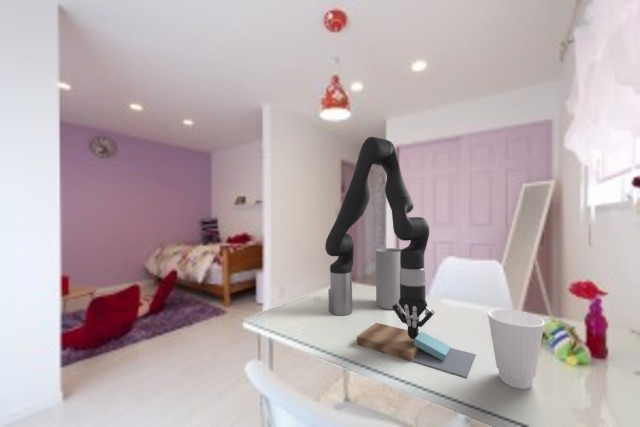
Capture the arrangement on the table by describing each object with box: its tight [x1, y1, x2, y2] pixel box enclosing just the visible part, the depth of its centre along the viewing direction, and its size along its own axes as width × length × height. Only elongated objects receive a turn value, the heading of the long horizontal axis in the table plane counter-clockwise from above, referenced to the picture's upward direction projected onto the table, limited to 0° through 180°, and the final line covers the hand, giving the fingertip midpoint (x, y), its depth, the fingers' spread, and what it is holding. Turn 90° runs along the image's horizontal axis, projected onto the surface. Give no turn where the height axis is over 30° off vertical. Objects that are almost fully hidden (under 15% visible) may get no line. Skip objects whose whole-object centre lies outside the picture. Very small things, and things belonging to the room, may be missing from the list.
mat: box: [411, 347, 477, 379], centre depth 83 cm, size 14×14×1 cm
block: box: [356, 322, 421, 362], centre depth 92 cm, size 18×14×2 cm
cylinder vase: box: [375, 247, 403, 311], centre depth 128 cm, size 12×12×25 cm
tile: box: [413, 331, 452, 361], centre depth 85 cm, size 9×6×2 cm, turn 53°
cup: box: [487, 308, 546, 390], centre depth 72 cm, size 12×12×16 cm
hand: (413, 337), depth 88 cm, fingers closed
